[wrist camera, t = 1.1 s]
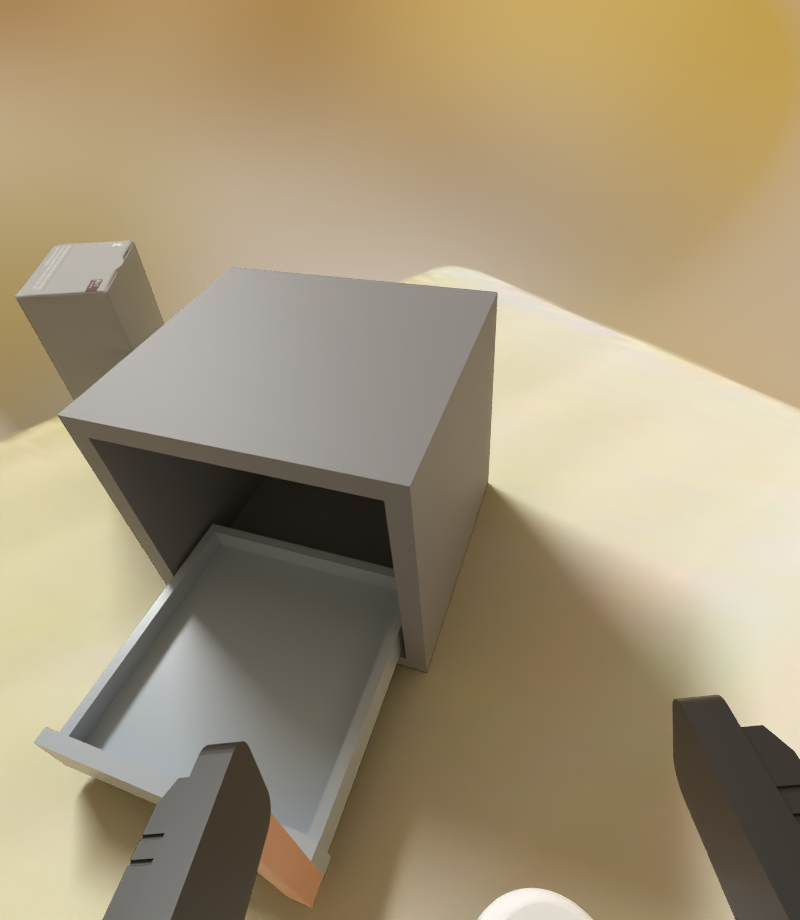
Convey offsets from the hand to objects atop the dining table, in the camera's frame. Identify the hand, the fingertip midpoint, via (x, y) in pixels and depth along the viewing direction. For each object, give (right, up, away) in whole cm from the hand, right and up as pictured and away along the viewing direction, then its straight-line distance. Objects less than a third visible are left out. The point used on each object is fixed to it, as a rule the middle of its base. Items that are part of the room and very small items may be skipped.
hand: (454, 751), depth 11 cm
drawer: (-9, -7, +22) cm, 25 cm away
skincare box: (-24, +8, +41) cm, 49 cm away
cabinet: (-5, 0, +30) cm, 31 cm away
